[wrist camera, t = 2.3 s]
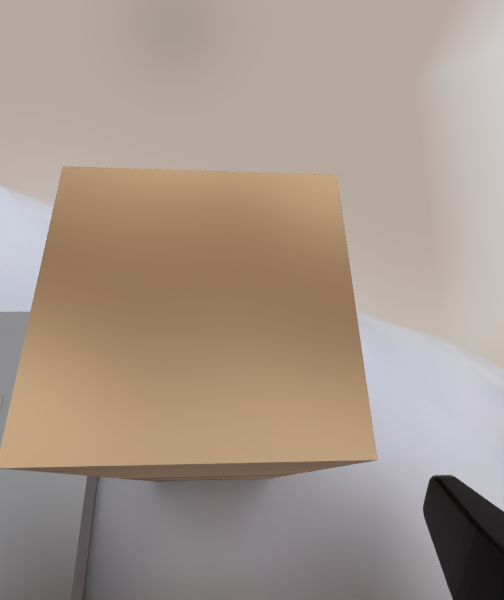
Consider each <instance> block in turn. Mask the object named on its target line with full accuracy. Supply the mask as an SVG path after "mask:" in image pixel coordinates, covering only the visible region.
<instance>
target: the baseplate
mask: <svg viewBox="0 0 504 600" xmlns="http://www.w3.org/2000/svg"><path fill="white" fill-rule="evenodd" d="M29 317H30V312H0V447H1V443H2V438H3V434H4V429H5V425H6V420H7V416H8V411H9V407H10V402H11V398H12V393H13V389H14V384H15V380H16V375H17V371H18V366H19V362H20V357H21V353H22V348H23V344H24V339H25V335H26V330H27V326H28V321H29ZM97 480H98V477H96V476H84V475H72V474H59V473H47V472H35V471H23V470H11V469H0V600H83V593H84V585H85V577H86V569H87V561H88V553H89V544H90V536H91V528H92V520H93V512H94V504H95V496H96V488H97Z"/></svg>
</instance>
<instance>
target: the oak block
mask: <svg viewBox="0 0 504 600" xmlns="http://www.w3.org/2000/svg"><path fill="white" fill-rule="evenodd" d="M375 460H377V455H376V448H375V441H374V434H373V427H372V419H371V412H370V405H369V398H368V391H367V384H366V377H365V370H364V363H363V356H362V349H361V342H360V335H359V328H358V321H357V314H356V307H355V300H354V293H353V286H352V278H351V272H350V265H349V258H348V250H347V243H346V236H345V229H344V222H343V216H342V208H341V201H340V194H339V188H338V180H337V175H323V174H291V173H257V172H226V171H193V170H160V169H129V168H97V167H63V168H62V172H61V177H60V182H59V186H58V191H57V195H56V199H55V204H54V208H53V213H52V217H51V222H50V226H49V231H48V235H47V240H46V244H45V249H44V253H43V258H42V262H41V267H40V271H39V276H38V280H37V285H36V290H35V294H34V299H33V303H32V308H31V312H30V317H29V321H28V326H27V330H26V335H25V339H24V344H23V348H22V353H21V357H20V362H19V366H18V371H17V375H16V380H15V384H14V389H13V393H12V398H11V402H10V407H9V411H8V416H7V420H6V425H5V429H4V434H3V438H2V443H1V447H0V469H11V470H23V471H35V472H47V473H59V474H72V475H84V476H96V477H108V478H121V479H133V480H145V481H176V480H217V479H258V478H275V477H281V476H287V475H292V474H298V473H304V472H310V471H316V470H322V469H328V468H334V467H339V466H345V465H351V464H357V463H363V462H369V461H375Z"/></svg>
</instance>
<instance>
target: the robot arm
mask: <svg viewBox="0 0 504 600" xmlns="http://www.w3.org/2000/svg"><path fill="white" fill-rule="evenodd" d="M423 513H424V518H425V521H426V524H427V527H428V530H429V533H430V535H431V538H432V541H433V544H434V547H435V550H436V553H437V556H438V559H439V561H440V564H441V567H442V570H443V573H444V576H445V579H446V582H447V585H448V587H449V590H450V593H451V595H452V598H453V600H504V512H503V511H502V510H501V509H499V508H498V507H496V506H495V505H494V504H492V503H491V502H489V501H488V500H487V499H485V498H484V497H482V496H481V495H480V494H478V493H477V492H475V491H474V490H473V489H471V488H470V487H468V486H467V485H466V484H464V483H463V482H461V481H460V480H459V479H457V478H456V477H454V476H451V475H435V476H432V477H431V478H430V480H429V484H428V488H427V492H426V496H425V500H424V505H423Z"/></svg>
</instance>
